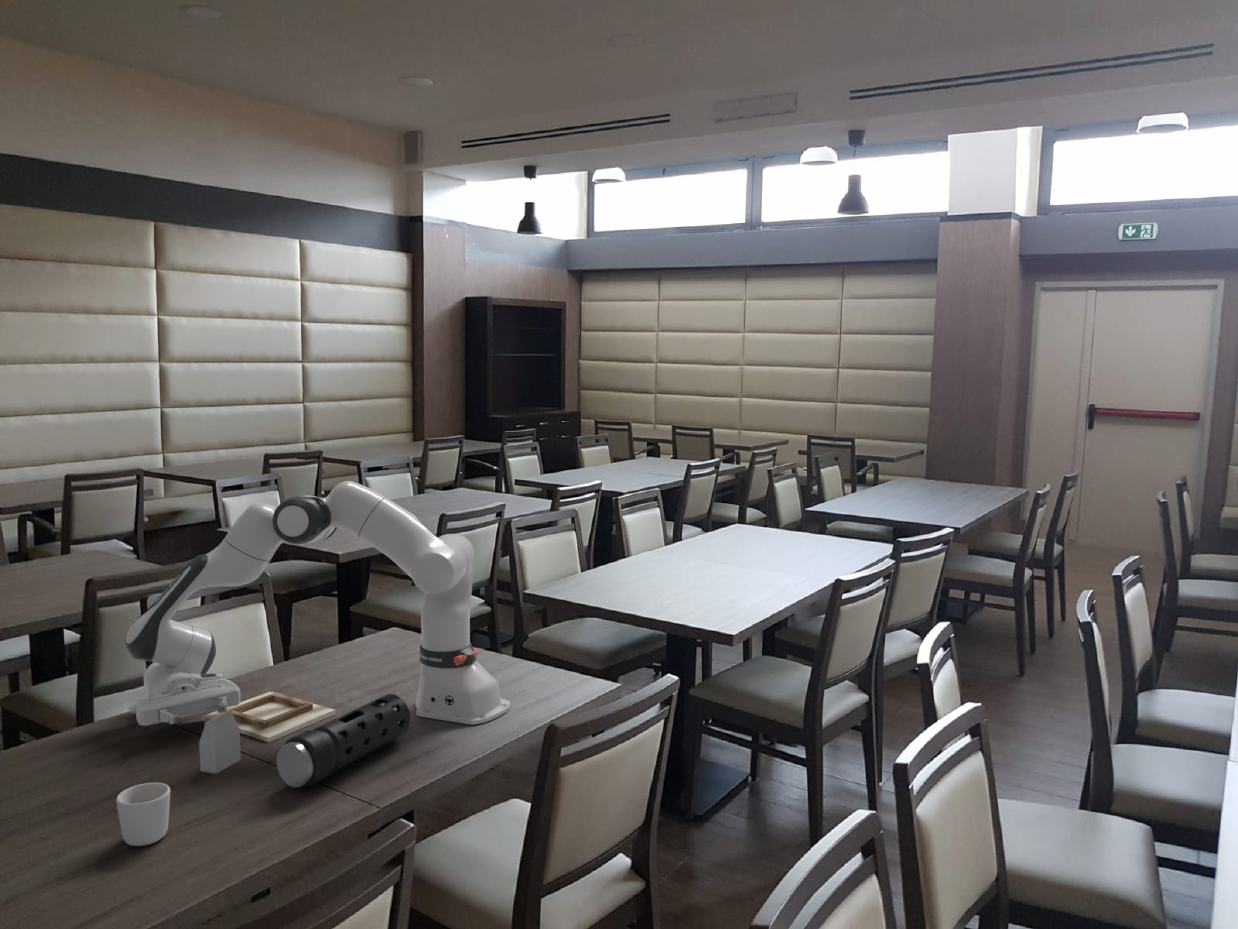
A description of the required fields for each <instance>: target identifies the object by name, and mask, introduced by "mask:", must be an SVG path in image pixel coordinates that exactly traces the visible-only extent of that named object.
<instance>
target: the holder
mask: <svg viewBox="0 0 1238 929" xmlns="http://www.w3.org/2000/svg"><path fill="white" fill-rule="evenodd" d="M231 710H232V713H233V716H234V719H235V722H236V724H237V726H238V728H239V731H240V734H243V735H245V736H249V737H251V736H252V738H254V739H257V740H260V739H261V740H260V741H264V742H267V743H271V742H273V741H275V740H277V739H280V738H282V737H285V736H287V735H290V734H292V733H294V732H297V731H299V730H301V729H304V728H305V727H308V726H312V725H313V724H315V723H319V722H320V721H323V720H325V719H327V718H329V717H333V716H334V715H337V714H336V712H337V710H336V709H334V708H330V707H327V706H324V705H319V704H316V703H312V702H309V701H306V700H303V699H299V698H295V697H292V696H290V695H289V696H288V695H285V694H281V693H278V692H275V691H268V692H264V693H262V694H259V695H257V696H254V697H251V698H248V699H246V700H243V701H240V703H239V704H238V705H236V706H231V707H227V712H228V711H231ZM224 713H226V712H223V713H219V712H217V710H214V711H213V712H211V713H208V714H207V713H206V714H204V715H202V722H204V723H205V722H207V721H209V720H211V719H213V718H215V717H217V716H220V715H222V714H224Z"/></svg>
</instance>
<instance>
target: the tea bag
mask: <svg viewBox="0 0 1238 929" xmlns="http://www.w3.org/2000/svg"><path fill="white" fill-rule="evenodd" d="M198 744H199V765H200V766H199V767H200V772H203V773H209V774H216V773H217V774H219V773H220V772H221V771H224V770H225V769H227V768H229V767H231V766H232V765H234V764H236V763H237V762H240V761H241V759H242V757H241V756H242V755H241V754H242V752H241V733H240V731H239V728H238V726H237V724H236V722H235V719H234V716H233V713H232V710H231V711H228V712H226V713H224V714H222V715H220V716H217V717H215V718H213V719H211V720H209V721H207V722H205V721H204V727H203V730H202V734H201V736H200V739H199V742H198ZM233 763H234V764H233Z"/></svg>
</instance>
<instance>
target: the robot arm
mask: <svg viewBox="0 0 1238 929" xmlns="http://www.w3.org/2000/svg"><path fill="white" fill-rule="evenodd" d="M338 528H339V529H342V530H344V531H347V532H349V533H350V534H352V535H353V536H354V537H357V538H358V539H359V540H361V541H363V542H364V543H366V544H368V545H369V546H371V547H372V548H374V549H376V550H377V551H378V552H380V553H382V554H383V555H385V556H386V557H387V558H389V559H390V560H392V561H393V562H394V563H395V564H396V565H397V566H398V567H399V568H400V569H401V570H402V571H403V572H404V573H405V574H406V575H408V576H409V577H410V578H411V579H412V582H413V584H414V585H415V586H416V588H417V589H418V590H420V592H423V593H424V595H423V596H424V597H423V603H422V606H421V612H420V628H421V634H420V635H421V636H420V637H421V644H420V645H419V652H418V654H419V655H418V656H419V662H420V663H421V666H420V668H421V669H420V677H419V687H418V692H417V697H416V700H415V704H414V705H415V706H414V707H415V708H416V712H415V714H416V717H420V718H421V717H422V718H426V719H427V718H428V719H433V720H440V721H445V722H453V723H459V724H464V725H480V724H483V723H486V722H489V721H492V720H495V719H496V718H499V717H500V716H502V715H504V714H505V713H507V712H508V711H509V710H510V709H511V706H512V705H511V701H510V700H508V699H504V698H502V697H501V690H500V686H499V682H498V680H496V679H495V677H494V676H492V675H491V674H490V673H489V672H488V671H487V670H486V668H484V667H483V666H482V664H480V663H479V661H477V655H479V654H480V649H479V648H478V649H476V650H474V647H473V644H472V642H471V641H470V640H471V638H470V637H471V635H470V634H471V631H470V630H471V628H470V626H471V624H470V619H471V618H470V615H471V614H470V612H471V601H472V600H471V599H472V591H473V578H474V565H475V554H476V553H475V548H474V545H473V543H472V542H471V541H470V539H468V538H467V537H466V536H464V535H462V534H457V533H447V534H443V535H441V536H439V537H437V536H436V535H435V534H433V533H432V531H430V530H429V529H428V528H427V527H425V525H423V524H422V522H420V520H419V519H418V517H417V516H416V515H415V514H414V513H412V512H410V511H409V510H407V509H405V508H404V507H403V506H400V505H399V504H397V503H396V502H395V501H394V500H392V499H389V498H388V497H386V496H385V495H383V494H382V493H380V492H378V491H377V490H374V489H371V488H370V487H368V486H365V485H362V484H361V483H358V482H355V481H352V480H345V481H342V482H340V483H338V484H336V485H335V486H334V487H333V488H332V489H331V491H330V493H329V494H327V496H325V497H324V496H323V497H322V496H318V495H317V496H315V495H308V494H306V495H299V496H298V495H297V496H291V497H289V498H287V499H285V500H283V501H282V502H281V503H280V504H278V506H274V505H272V504H270V503H267V502H255V503H253V504H250V505H249V506H248V507H247V508H246V509H245V510H244V512H242V514H241V515H240V516H239V517H238V518H237V519H236V520H235V522H234V524H233V525H232V526H231V528H230V529H229V530H228V531H227V534H226V535H225V537H224V538H223V539H222V540H221V542H220V543H219V544H218V545H217V546H216V547H215V548H214V549H212V550H211V551H209V552H208V553H206V554H199V555H196V557H194V558H192V560H190V561H189V562H188V563H187V565H185V567H183V569H182V570H181V571H180V572H179V573H178V574H177V576H176V577H175V578H174V579H173V580H172V581H171V583H170V584H169V585H168V586H166V588H165V589H164V591H162V593H161V594H160V595H159V596H158V597H157V598H156V600H154V602H153V603H152V604H151V605H150V606H149V608H148V609H147V610H145V611H144V612H143V613H142V614H140V616H138V618H137V619H136V620H135V621H134V622H133V623H132V624H131V626H130V628H129V629H128V631H127V633H126V635H125V638H124V644H125V647H126V649H127V651H128V653H129V654H130V656H131V657H132V658H133V659H135V660H140V661H145V662H146V661H147V662H152V663H150V665H148V667H147V668H146V670H145V672H144V674H143V685H144V689H145V692H146V694H147V695H148V696H149V697H145V698H141V699H139V700H137V701H136V702H135V704H134V705H130V706H129V712H130V713H132V714H134V715H136V721H137V723H138V725H139V726H142V727H147V726H152V725H155V724H161V723H169V725H175V724H179V723H180V722H179V721H180V720H179V719H182V718H186V717H191V716H196V715H200V714H204V713H208V712H212V711H213V712H215V711H217V712H219V713H223V712H227V707H231V706H236V705H238V704H239V703H240V702H242V700H241V698H242V695H241V689H240V687H239V686H238V685H237V684H236V683H234V682H233V681H231V680H229V679H226V678H223V675H222V673H217V672H215V673H207V672H209V670H210V669H211V667H212V665H213V663H214V660H215V657H216V653H217V646H216V642H215V637H214V635H213V634H212V632H211V631H207V630H205V629H203V628H200V627H196V626H193V625H189V624H186V623H183V622H179V621H176V620H173V619H171V618H172V617H174V615H175V613H176V612H177V611H178V610H179V609H180V608H181V606H183V604H184V603H185V602H186V601H187V599H189V598H190V596H192V595H193V593H195V592H197V591H198V590H202V589H206V588H214V587H239V586H240V587H241V586H244V585H247V584H250V583H253V582H254V581H256V580H257V579H258V578H259V577H260V576H261V575H262V574H263V572H265V570H266V568H267V566H268V565H269V563H270V562H271V560H272V558H273V556H274V555H275V553H276V551H277V550H278V549H279V547H280V546H281V545H282V544H283V543H284V542H286V543H288V544H291V545H297V546H298V545H311V544H316V543H319V542H322V541H325V540H327V539H329V538H330V537H332V536H333V535H334V533H335V532H336V531H337V530H338Z"/></svg>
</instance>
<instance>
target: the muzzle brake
mask: <svg viewBox="0 0 1238 929" xmlns="http://www.w3.org/2000/svg"><path fill="white" fill-rule="evenodd" d="M394 708H396V710H395V709H394ZM410 726H411V713H410V709H409V707H408V705H407V703H406V702H405V701H404V699H403V698H402V697H400V696H398V694H394V693H389V694H388V693H387V694H385V695H383V696H381V697H379V698H377V699H374V700H372V701H370V702H368V703H365V704H364V705H361V706H360V707H356V708H355V709H353V710H351V711H349V712H347V713H344V714H342V715H340V716H338V717H335V718H334V719H332V720H330V721H327V722H325V723H323V724H321V725H319V726H317V727H315V728H313V729H307V730H305V731H302V732H300V733H298V734H296V735H295V736H292V737H290V738H288V739H287V740H286V741H285V743H284V744H283V745H282V746H281V747H280V748H279V749H278V751H277V753H276V760H275V764H276V769H277V772H278V775H279V777H280V778H281V780H282V781H283V782H284V783H285V784H286V785H287V786H288V787H290V788H294V789H297V788H301V787H311V786H312V785H315V784H316V783H319V782H322V781H324V780H326V779H327V778H330V777H332V776H333V775H334V773H335V772H337V770H339V769H341V768H343V767H345V766H348V765H349V764H350V763H352V762H357V761H358V760H359V759H360V758H362V757H365V758H366V756H369V755H370V754H372V753H375V752H376V751H378V750H381V748H383V747H385V746H386V745H389V744H390V743H392V742H395V741H396V739H398V738H399V737H400V736H403V735H404V734H406V733H407V731H408V730H409V728H410Z"/></svg>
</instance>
